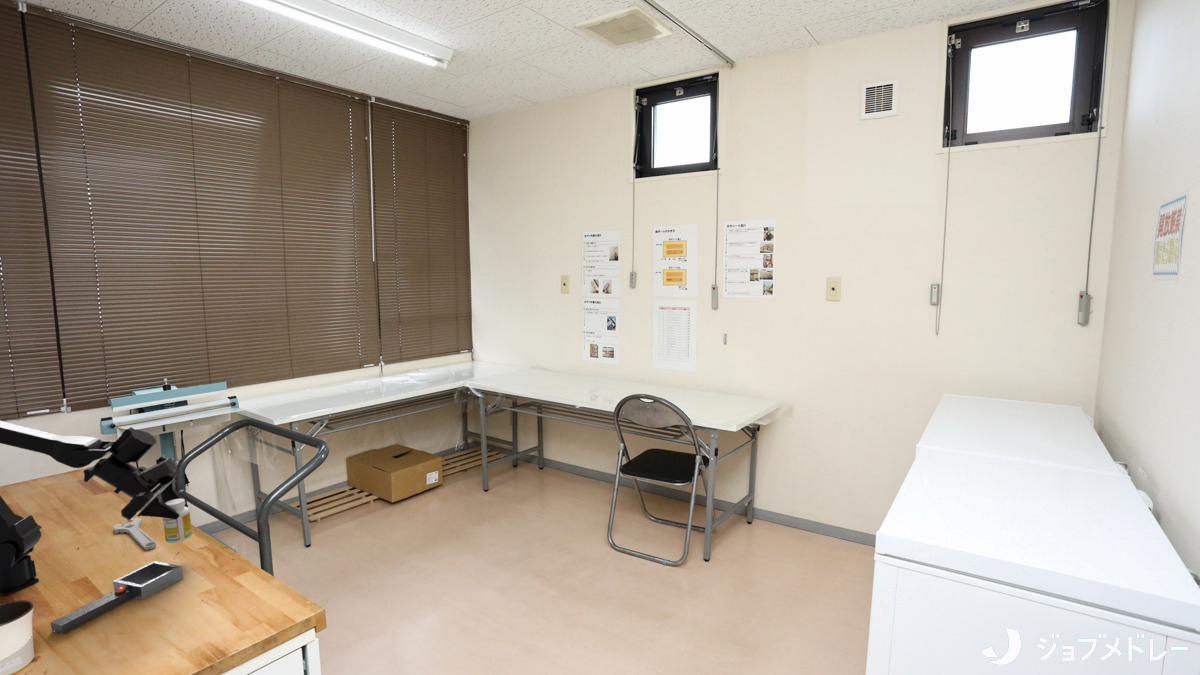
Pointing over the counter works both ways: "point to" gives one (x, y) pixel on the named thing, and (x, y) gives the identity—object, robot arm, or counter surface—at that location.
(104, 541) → the counter surface
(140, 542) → the adjustable wrench
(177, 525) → the supplement bottle
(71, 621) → the grey rectangular scoop
